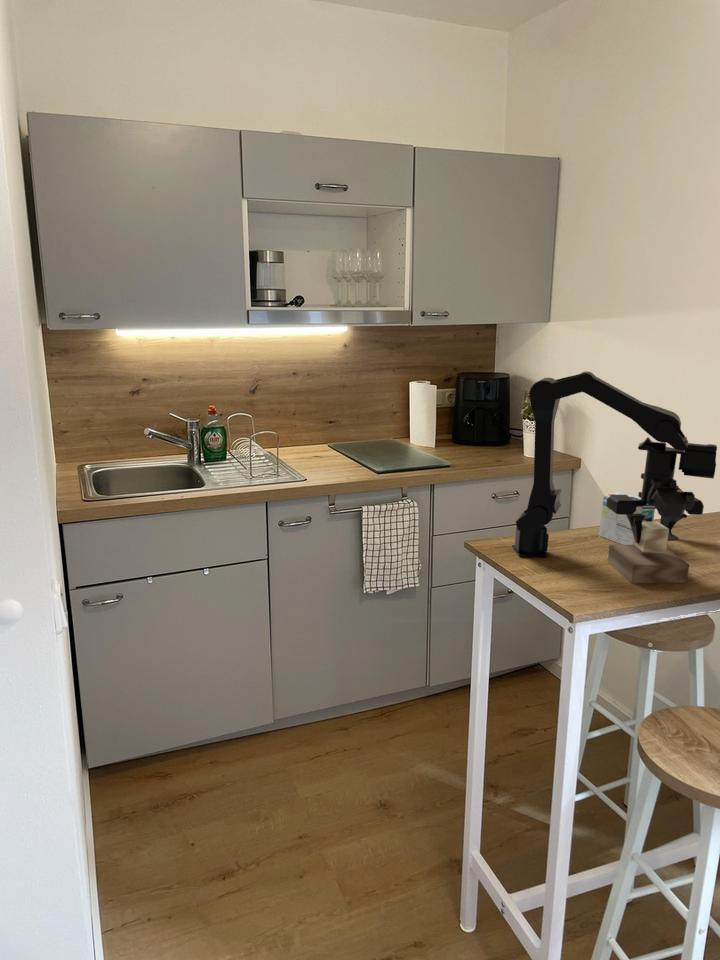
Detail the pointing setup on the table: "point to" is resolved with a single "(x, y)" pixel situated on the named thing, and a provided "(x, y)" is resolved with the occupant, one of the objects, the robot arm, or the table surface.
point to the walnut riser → (647, 565)
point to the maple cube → (653, 537)
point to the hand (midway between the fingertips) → (649, 542)
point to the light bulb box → (619, 522)
